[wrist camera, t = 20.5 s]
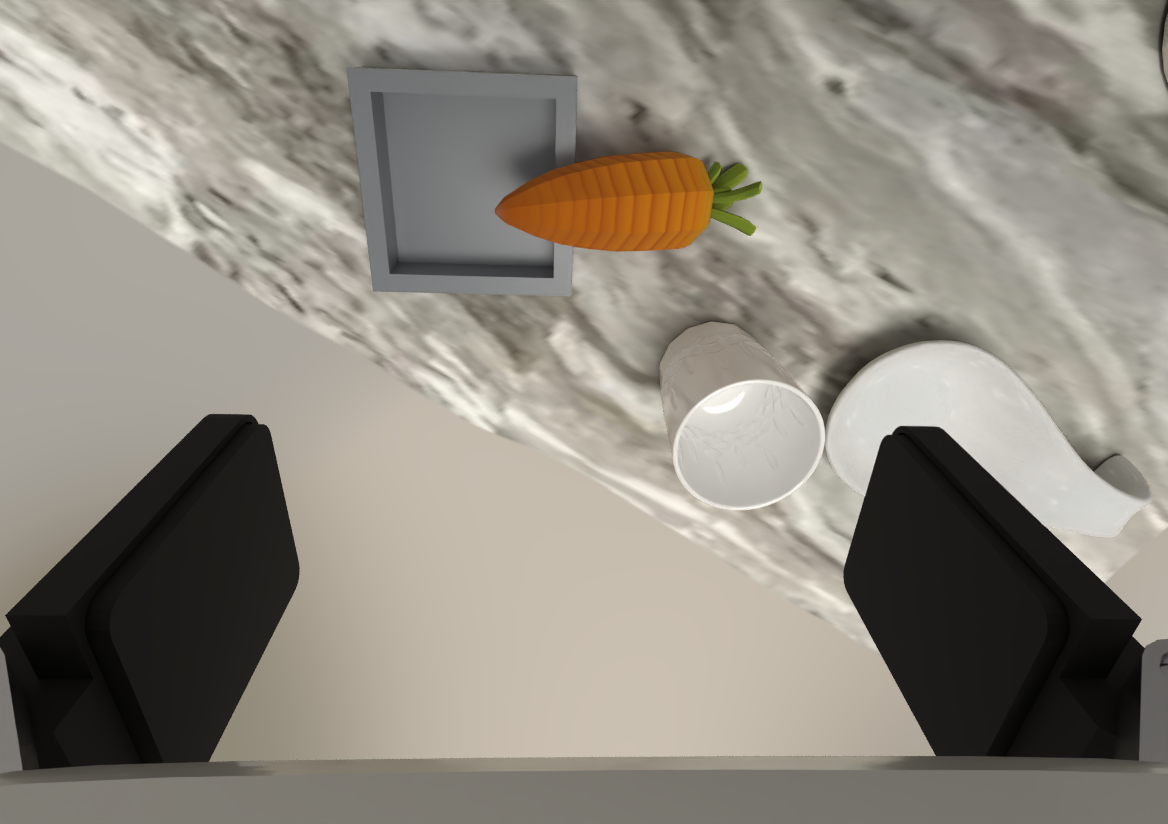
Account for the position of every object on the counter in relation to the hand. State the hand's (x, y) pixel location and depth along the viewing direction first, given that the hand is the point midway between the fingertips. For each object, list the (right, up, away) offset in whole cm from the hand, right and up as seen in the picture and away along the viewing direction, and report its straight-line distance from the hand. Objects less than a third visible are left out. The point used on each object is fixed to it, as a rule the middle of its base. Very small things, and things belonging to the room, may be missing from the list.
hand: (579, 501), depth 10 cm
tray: (-6, +14, +26) cm, 31 cm away
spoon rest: (+27, 0, +36) cm, 45 cm away
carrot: (-4, +11, +20) cm, 23 cm away
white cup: (+8, +4, +33) cm, 34 cm away
